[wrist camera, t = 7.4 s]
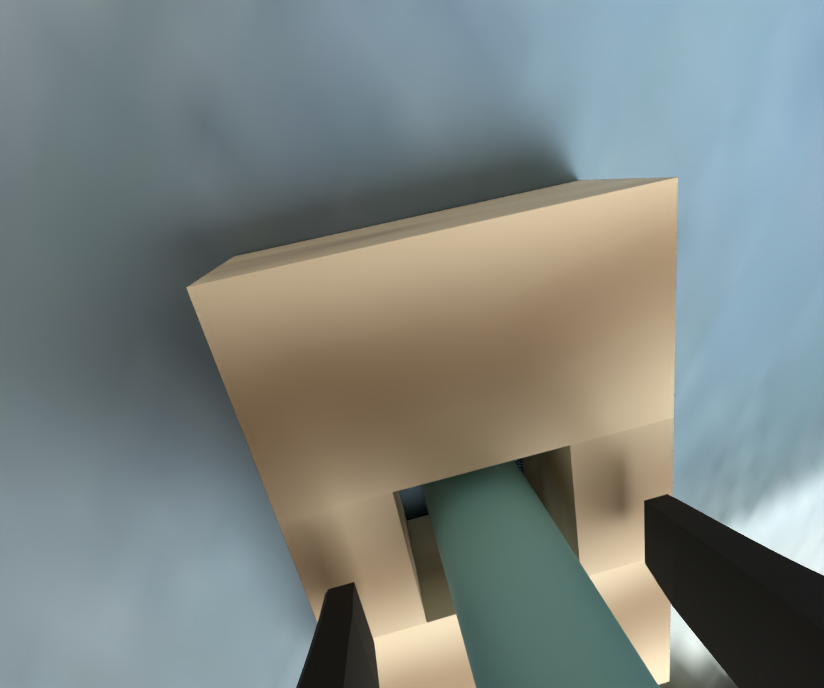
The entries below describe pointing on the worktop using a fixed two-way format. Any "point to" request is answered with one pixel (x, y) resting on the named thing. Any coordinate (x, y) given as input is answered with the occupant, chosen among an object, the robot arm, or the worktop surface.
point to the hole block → (460, 395)
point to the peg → (524, 589)
